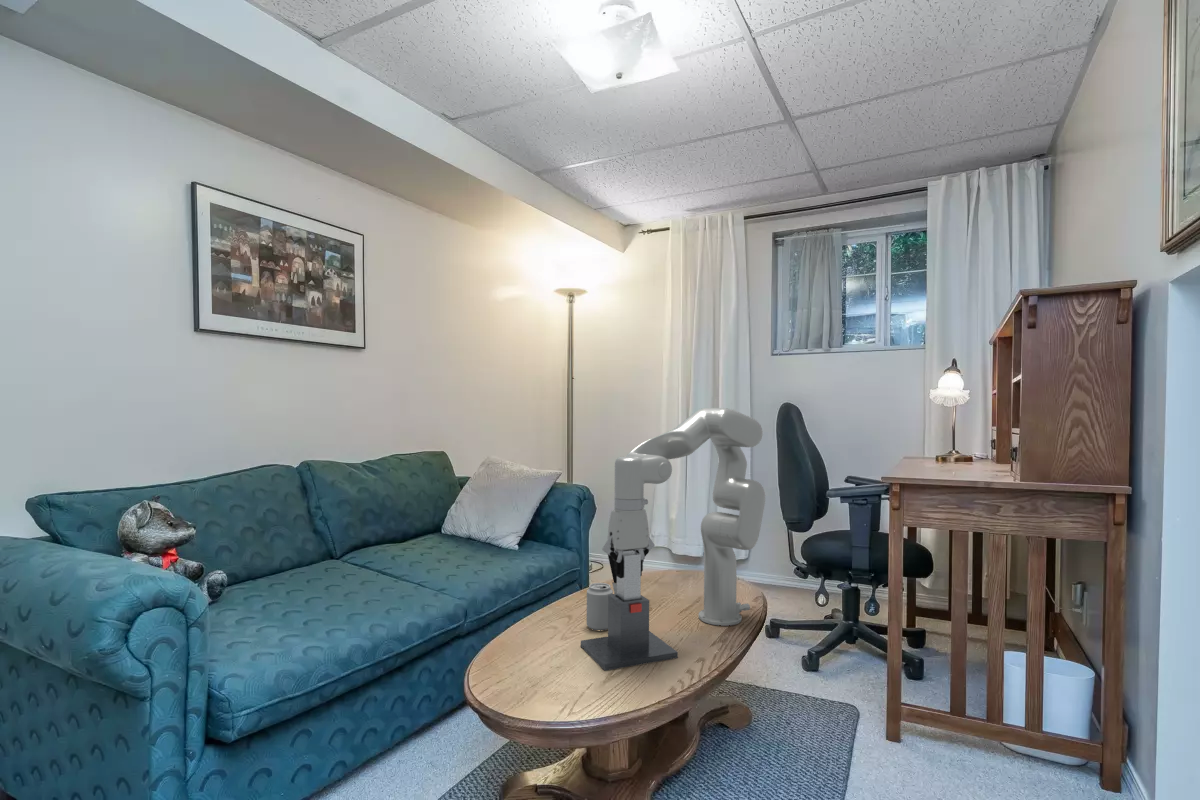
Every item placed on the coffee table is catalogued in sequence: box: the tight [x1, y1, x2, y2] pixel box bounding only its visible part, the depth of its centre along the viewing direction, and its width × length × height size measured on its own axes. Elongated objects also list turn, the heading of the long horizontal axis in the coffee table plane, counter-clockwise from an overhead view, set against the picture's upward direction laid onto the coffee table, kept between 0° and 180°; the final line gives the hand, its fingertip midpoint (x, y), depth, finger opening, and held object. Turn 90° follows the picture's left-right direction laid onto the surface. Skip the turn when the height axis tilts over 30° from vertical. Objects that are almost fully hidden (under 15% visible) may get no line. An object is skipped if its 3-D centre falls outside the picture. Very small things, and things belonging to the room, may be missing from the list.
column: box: [617, 550, 642, 602], centre depth 157 cm, size 5×5×20 cm
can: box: [586, 582, 614, 632], centre depth 174 cm, size 8×8×12 cm
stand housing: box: [580, 593, 679, 671], centre depth 156 cm, size 20×16×14 cm
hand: (628, 574), depth 157 cm, fingers closed on column, 4 cm apart
